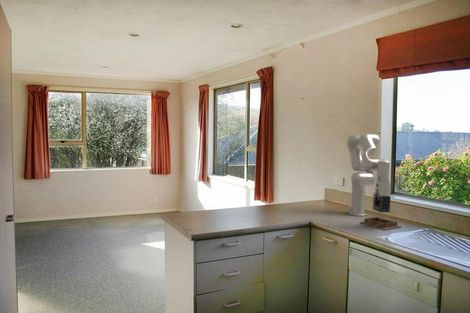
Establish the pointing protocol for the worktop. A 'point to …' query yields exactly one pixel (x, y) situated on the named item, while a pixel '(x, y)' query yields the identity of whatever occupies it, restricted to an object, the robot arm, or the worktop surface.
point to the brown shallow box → (380, 223)
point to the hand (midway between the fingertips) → (381, 205)
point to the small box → (382, 204)
